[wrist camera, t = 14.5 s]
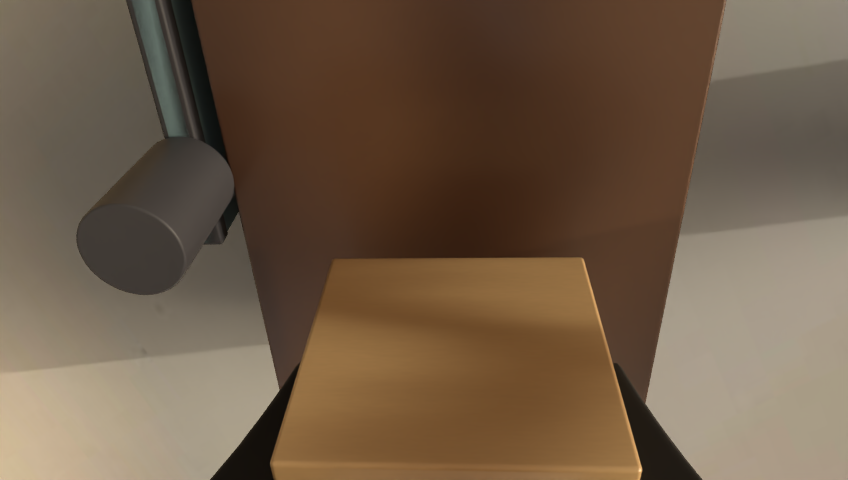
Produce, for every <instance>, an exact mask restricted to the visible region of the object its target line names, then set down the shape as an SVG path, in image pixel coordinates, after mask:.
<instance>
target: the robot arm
mask: <svg viewBox="0 0 848 480" xmlns="http://www.w3.org/2000/svg"><path fill="white" fill-rule="evenodd" d="M300 363H301V362H300ZM300 363H299V364H298V365H296V367H295V368H294V370H293V371H292V373H291V374H290V376H289V377H288V379H287V380H286V382H285V383H284V385H283V386H282V388H281V389H280V391H279V392H278V394H277V395H276V396H275V398H274V399H273V401H272V402H271V403H270V405H269V406H268V408H267V409H266V410H265V412H264V413H263V415H262V416H261V417H260V419H259V420H258V421H257V423H256V424H255V425H254V426H253V428H252V429H251V430H250V432H249V433H248V434H247V436H246V437H245V438H244V440H243V441H242V442H241V443H240V445H239V446H238V447H237V448H236V450H235V451H234V452H233V453H232V454H231V456H230V457H229V458H228V459H227V460H226V462H225V463H224V464H223V465H222V466H221V467H220V469H219V470H218V471H217V472H216V473H215V475H214V476H213V477H212V478H211V479H210V480H274V478H273V475H272V471H271V467H270V461H271V458H272V454H273V451H274V448H275V445H276V441H277V438H278V435H279V431H280V428H281V425H282V422H283V418H284V415H285V412H286V409H287V405H288V402H289V399H290V396H291V392H292V389H293V386H294V383H295V379H296V376H297V373H298V369H299V366H300ZM613 366H614V370H615V373H616V377H617V380H618V384H619V388H620V391H621V395H622V398H623V402H624V406H625V409H626V413H627V416H628V420H629V423H630V427H631V431H632V434H633V438H634V441H635V445H636V449H637V452H638V456H639V459H640V463H641V466H642V473H641V478H640V480H702V479H701V477H700V476H699V475H698V474H697V473H696V471H695V470H694V469H693V468H692V466H691V465H690V464H689V463H688V461H687V460H686V459H685V458H684V456H683V455H682V454H681V452H680V451H679V450H678V448H677V447H676V446H675V444H674V443H673V442H672V441H671V439H670V438H669V437H668V435H667V434H666V433H665V431H664V430H663V429H662V427H661V426H660V424H659V423H658V422H657V420H656V419H655V417H654V416H653V414H652V413H651V412H650V410H649V409H648V407H647V406H646V404H645V403H644V401H643V400H642V398H641V397H640V395H639V394H638V392H637V391H636V389H635V388H634V386H633V385H632V383H631V381H630V380H629V378H628V377H627V375H626V373H625V372H624V370H623V369H622V367H621V366H620V365H619V364H617V363H613Z"/></svg>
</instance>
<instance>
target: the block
mask: <svg viewBox="0 0 848 480" xmlns="http://www.w3.org/2000/svg"><path fill="white" fill-rule="evenodd" d="M270 467H271V471H272V475H273V478H274V480H640V478H641V473H642V466H641V463H640V459H639V456H638V452H637V449H636V445H635V441H634V438H633V434H632V431H631V427H630V423H629V420H628V416H627V413H626V409H625V406H624V402H623V398H622V395H621V391H620V388H619V384H618V380H617V377H616V373H615V370H614V366H613V363H612V359H611V355H610V352H609V348H608V345H607V341H606V337H605V334H604V330H603V327H602V323H601V320H600V316H599V312H598V309H597V305H596V302H595V298H594V294H593V291H592V287H591V284H590V280H589V277H588V273H587V269H586V266H585V262H584V259H583V258H581V257H531V258H335V259H333V260H332V262H331V265H330V268H329V271H328V275H327V278H326V281H325V285H324V288H323V291H322V294H321V298H320V301H319V304H318V307H317V311H316V314H315V317H314V320H313V324H312V327H311V330H310V334H309V337H308V340H307V343H306V347H305V350H304V353H303V356H302V360H301V363H300V366H299V369H298V373H297V376H296V379H295V383H294V386H293V389H292V392H291V396H290V399H289V402H288V405H287V409H286V412H285V415H284V418H283V422H282V425H281V428H280V431H279V435H278V438H277V441H276V445H275V448H274V451H273V454H272V458H271V461H270Z"/></svg>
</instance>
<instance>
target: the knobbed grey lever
mask: <svg viewBox="0 0 848 480" xmlns="http://www.w3.org/2000/svg"><path fill="white" fill-rule="evenodd" d="M126 1H127V5H128V9H129V12H130V16H131V19H132V23H133V26H134V30H135V34H136V37H137V41H138V44H139V48H140V51H141V55H142V59H143V62H144V66H145V69H146V73H147V76H148V80H149V84H150V87H151V91H152V94H153V98H154V101H155V105H156V109H157V112H158V116H159V119H160V123H161V126H162V130H163V134H164V137H165V139H163V140H161V141H159V142H157V143H156V144H155V145H153V146H152V147H151V148H150V149H149V150H148V151H147V152H146V153H145V154H144V155H143V156H142V157H141V158H140V159H139V160H138V161H137V163H136V164H135V165H134V166H133V167H132V168H131V169H130V170H129V171H128V172H127V173H126V174H125V175H124V176H123V177H122V178H121V179H120V180H119V181H118V182H117V183H116V184H115V185H114V186H113V187H112V188H111V189H110V190H109V191H108V192H107V193H106V194H105V195H104V196H103V197H102V198H101V199H100V200H99V201H98V202H97V203H96V204H95V205H94V206H93V207H92V208H91V209H90V210H89V211H88V212H87V213H86V214H85V216H84V217H83V218H82V219H81V221H80V223H79V226H78V229H77V246H78V249H79V252H80V254H81V257H82V259H83V260H84V262H85V263H86V265H87V266H88V267H89V268H90V270H91V271H92V272H93V273H94V274H95V275H97V276H98V277H99V278H100V279H102V280H103V281H104V282H106V283H108V284H109V285H111V286H113V287H115V288H117V289H119V290H122V291H125V292H129V293H133V294H139V295H152V294H158V293H162V292H165V291H167V290H169V289H171V288H172V287H174V286H175V285H176V284H178V283H179V282H180V280H181V279H182V277H183V276H184V274H185V273H186V271H187V270H188V268H189V266H190V265H191V263H192V262H193V260H194V258H195V257H196V255H197V254H198V252H199V250H200V249H201V247H202V246H203V244H222V243H223V242H224V240H225V238H226V236H227V235H228V232H227V231H228V229H229V227H230V226H231V224H232V222H233V221H234V219H235V217H236V216H237V214H238V212H239V209H238V205H237V200H236V196H235V192H234V179H233V175H232V172H231V169H230V167H229V165H228V161H227V156H226V152H225V148H224V143H223V139H222V135H221V130H220V126H219V121H218V117H217V113H216V108H215V104H214V99H213V95H212V91H211V86H210V82H209V78H208V73H207V69H206V64H205V60H204V56H203V51H202V47H201V42H200V38H199V34H198V29H197V25H196V20H195V16H194V12H193V7H192V3H191V0H126Z"/></svg>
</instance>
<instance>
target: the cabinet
mask: <svg viewBox="0 0 848 480" xmlns="http://www.w3.org/2000/svg"><path fill="white" fill-rule="evenodd" d="M191 3H192V7H193V12H194V16H195V20H196V25H197V29H198V34H199V38H200V42H201V47H202V51H203V56H204V60H205V64H206V69H207V73H208V78H209V82H210V86H211V91H212V95H213V99H214V104H215V108H216V113H217V117H218V121H219V126H220V130H221V135H222V139H223V143H224V148H225V152H226V156H227V161H228V165H229V167H230V169H231V172H232V175H233V179H234V192H235V196H236V200H237V205H238V209H239V214H240V218H241V222H242V227H243V231H244V235H245V240H246V244H247V249H248V253H249V257H250V262H251V266H252V271H253V275H254V279H255V284H256V288H257V292H258V297H259V301H260V306H261V310H262V314H263V319H264V323H265V328H266V332H267V336H268V341H269V345H270V350H271V354H272V358H273V363H274V367H275V371H276V376H277V380H278V385H279V389H281V388H282V386H283V385H284V383H285V382H286V380H287V379H288V377H289V376H290V374H291V373H292V371H293V370H294V368H295V367H296V365H298V364H299V363H300V362H301V360H302V356H303V353H304V350H305V347H306V343H307V340H308V337H309V334H310V330H311V327H312V324H313V320H314V317H315V314H316V311H317V307H318V304H319V301H320V298H321V294H322V291H323V288H324V285H325V281H326V278H327V275H328V271H329V268H330V265H331V262H332V260H333V259H335V258H531V257H581V258H583V259H584V262H585V266H586V269H587V273H588V277H589V280H590V284H591V287H592V291H593V294H594V298H595V302H596V305H597V309H598V312H599V316H600V320H601V323H602V327H603V330H604V334H605V337H606V341H607V345H608V348H609V352H610V355H611V359H612V363H617V364H619V365H620V366H621V367H622V369H623V370H624V372H625V373H626V375H627V377H628V378H629V380H630V381H631V383H632V385H633V386H634V388H635V389H636V391H637V392H638V394H639V395H640V397H641V398H642V400H643V401H644V403H645V402H646V397H647V392H648V387H649V382H650V377H651V372H652V367H653V362H654V357H655V352H656V347H657V342H658V337H659V333H660V328H661V323H662V318H663V313H664V308H665V303H666V298H667V293H668V288H669V283H670V278H671V273H672V268H673V263H674V258H675V253H676V248H677V243H678V238H679V233H680V228H681V223H682V218H683V213H684V208H685V203H686V199H687V194H688V189H689V184H690V179H691V174H692V169H693V164H694V159H695V154H696V149H697V144H698V139H699V134H700V129H701V124H702V119H703V114H704V109H705V104H706V99H707V94H708V89H709V84H710V79H711V74H712V69H713V64H714V60H715V55H716V50H717V45H718V40H719V35H720V30H721V25H722V20H723V15H724V10H725V5H726V0H191Z"/></svg>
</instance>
